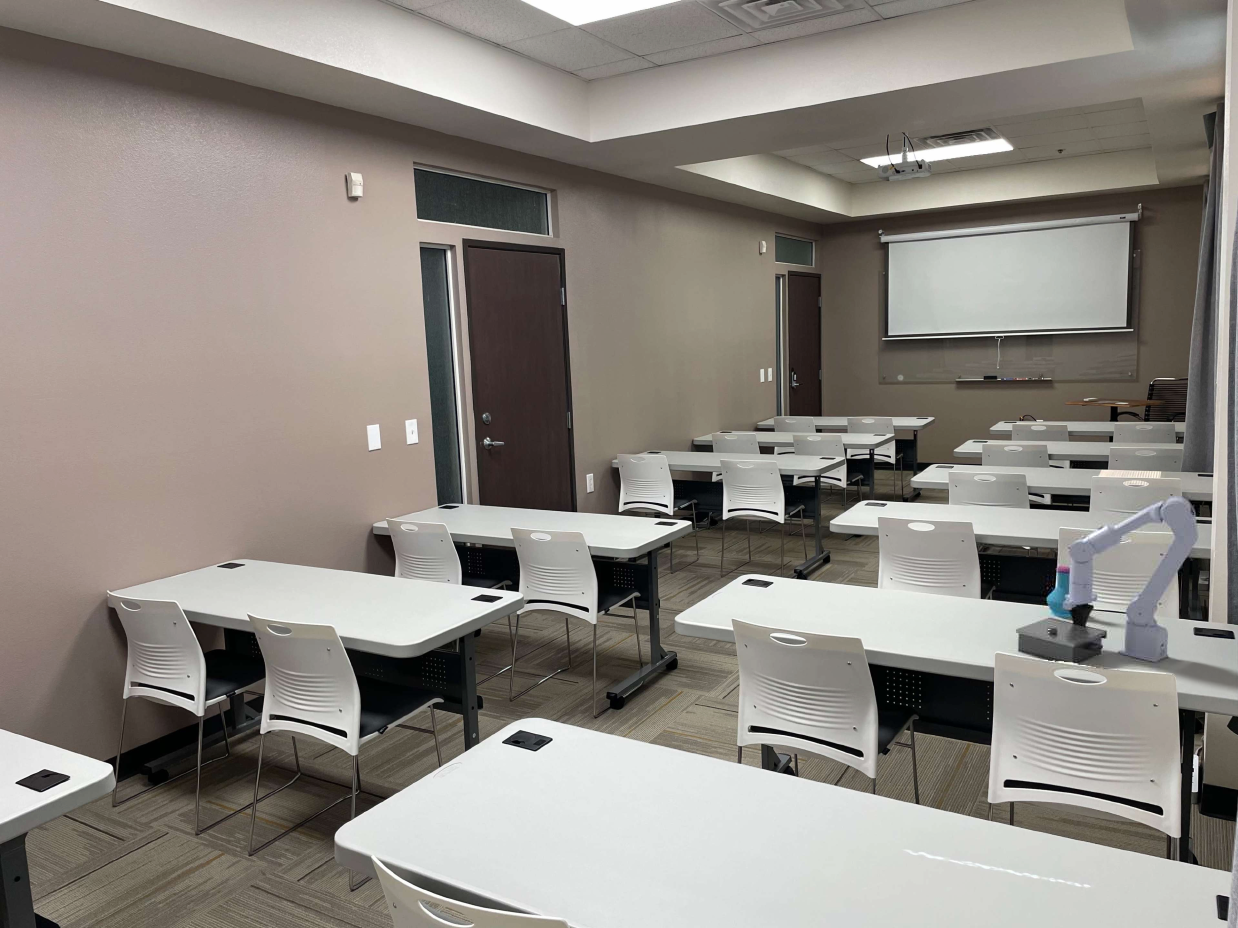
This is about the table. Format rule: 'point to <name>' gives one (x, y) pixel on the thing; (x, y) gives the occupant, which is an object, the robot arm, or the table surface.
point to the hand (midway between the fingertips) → (1079, 629)
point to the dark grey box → (1059, 649)
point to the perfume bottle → (1060, 593)
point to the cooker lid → (1062, 632)
